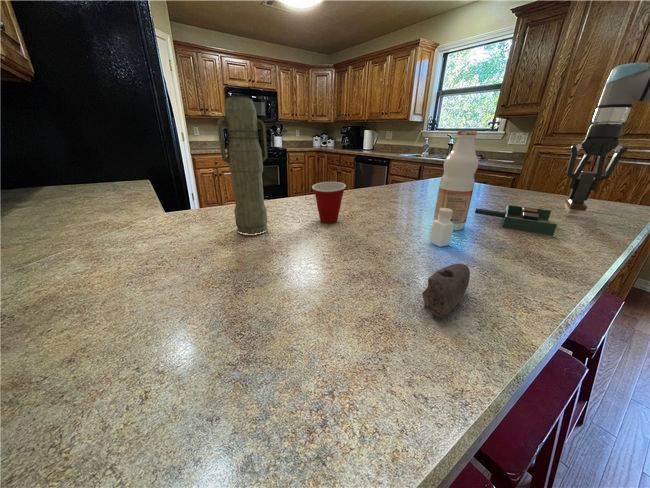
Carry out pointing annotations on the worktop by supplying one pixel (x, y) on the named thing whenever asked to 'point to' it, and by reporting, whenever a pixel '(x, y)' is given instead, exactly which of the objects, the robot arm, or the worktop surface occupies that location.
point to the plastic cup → (329, 200)
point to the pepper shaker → (442, 228)
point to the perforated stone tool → (446, 289)
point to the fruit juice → (458, 179)
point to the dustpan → (522, 223)
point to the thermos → (245, 163)
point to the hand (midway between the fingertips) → (577, 198)
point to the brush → (580, 194)
